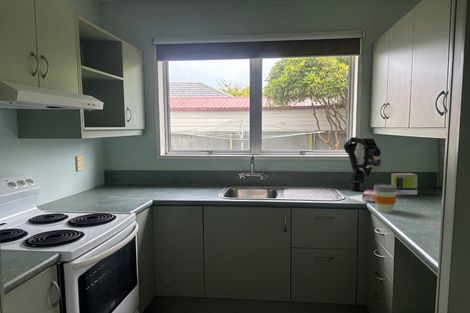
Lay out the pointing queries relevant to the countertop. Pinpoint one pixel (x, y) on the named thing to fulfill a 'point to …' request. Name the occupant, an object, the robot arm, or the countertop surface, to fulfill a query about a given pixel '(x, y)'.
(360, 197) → the mat
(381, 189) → the reusable coffee cup
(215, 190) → the countertop surface
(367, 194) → the candy bar box
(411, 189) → the tea box
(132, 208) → the countertop surface
